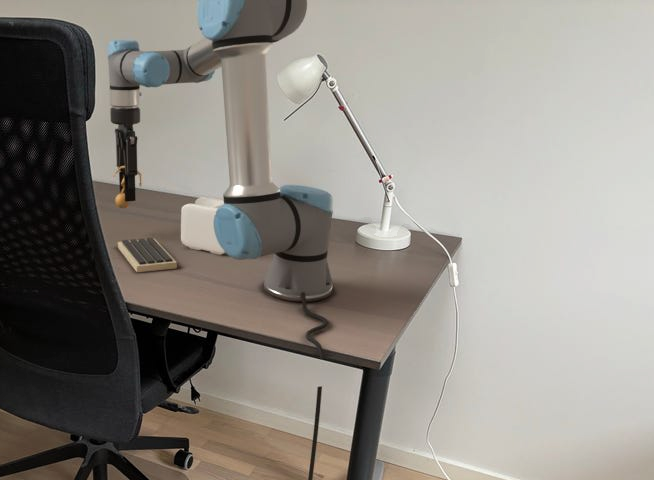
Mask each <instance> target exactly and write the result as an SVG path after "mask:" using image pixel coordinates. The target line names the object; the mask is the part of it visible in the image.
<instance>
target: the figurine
mask: <svg viewBox="0 0 654 480" xmlns="http://www.w3.org/2000/svg"><path fill="white" fill-rule="evenodd" d="M121 168H125V166H121V167H120V168H119V169H118V168H117V170H116V171H115V172H114V174H113V177H115V176H116V174H119V172H120V171H119V170H120V169H121ZM137 172H138V174H137V175H139V177H138V178H139V179H138V180H139V183H138V187H142V173H141V172H140V171H139V170H138V169H137ZM121 185H122V187H123V189H122V192H121V193H120V192H119V194H117V195H116V196H115V200H114V201H115V202H114V203H115V205H116V206H117V208H119V209H127V208H128V207H129V206H130V204H131V201H128V202H125V193H123V192H124V189H125V188H124V178H123V180H122V183H121Z"/></svg>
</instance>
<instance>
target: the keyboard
mask: <svg viewBox="0 0 654 480" xmlns="http://www.w3.org/2000/svg"><path fill="white" fill-rule="evenodd" d="M117 249H118V250H119V251H120V252H121V254H122V255H123V257H124V258H125V259H126V260H127V262H128V263H129V264H130V265H131V267H132V268H133V269H134V270H135V272H136V273H145V272H154V271H163V270H174V269H178V268H177V267H178V262H177V261H176V260H175V259H174V258H173V256H172V255H171V254H170V253H169V252H168V251H167V250H166V249H165V248H164V247H163V246H162V245H161V243H159V242H158V241H157V240H156V238H153V237H146V238H138V239H136V238H133V239H129V240H128V239H122V240H121V241H117Z"/></svg>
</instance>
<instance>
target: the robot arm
mask: <svg viewBox="0 0 654 480" xmlns="http://www.w3.org/2000/svg"><path fill="white" fill-rule="evenodd" d="M196 10H197V11H196V12H197V13H196V14H197V15H196V18H197V25H198V28H199V30H200V31H201V35H203V38H201V39H199V40H198V41H197V42H195V43H194V44H192V45H190V46H189V47H187V48H185V49H175V50H174V49H173V50H171V49H170V50H152V51H151V50H150V51H148V50H147V51H145V50H140V45H139V42H138V41H137V40H136V39H113V40H110V42H109V43H108V55H107V60H108V62H107V63H108V83H109V90H108V91H109V92H108V93H109V105H110V106H111V108H110V109H109V110H110V111H109V113H110V123H112V124H113V125H117V128H114V134H115V151H116V153H115V154H116V155H115V156H116V164H115V165H116V168H117V170H118V169H119V168H120V167H121V166H125V168H121V169H120V170H119V172H118V181H119V182H118V184H119V185H118V186H119V194H120V193H121V192H122V189H123V187H122V185H121V183H122V180H123V178H124V188H125V189H124V192H123V193H125V202H128V201H130V202H136V199H137V198H136V176H138V175H139V174H138V172H137V170H138V136H137V135H136V131H135V130H134V125H137V124H139V123H140V122H141V108H140V107H139V106H140V104H141V98H140V97H142V96H143V95H142V92H141V90H140V88H141V87H140V86H142V87H145V88H159V87H162V85H164V86H165V85H173V84H174V85H175V84H176V85H177V84H192V83H194V84H198V83H203V82H207V81H209V80H211V79H212V78H213V76H214V74H215V72H216V70H218V69H220V68H221V77H222V78H221V79H222V92H223V105H224V106H223V107H224V118H225V121H224V122H225V131H226V149H227V162H228V176H229V177H228V179H229V186H228V187H227V189H226V190H225V191H224V192H223V194H222V198H223V200H224V205H222V206H221V207H219V208H218V209H217V211H216V215H215V216H214V231H215V235H216V238H217V240H218V243H219V245H220V246H221V248H223V250H224V252H225V253H224V254H226V255H227V256H228V257H230V258H232V259H234V260H237V261H243V260H244V261H245V260H250V259H251V260H256V259H258V258H260V257H264V256H269V255H273V257H272V259H271V262H270V265H269V267H268V269H267V272H266V274H265V276H264V281H263V290H264V291H265V292H266V293H267V294H268V295H270V296H272V297H274V298H277V299H279V300H283V301H287V302H296V303H302V310H303V312H304V313H305V314H306V315H307V316H309V317H312V318H313V319H315V320H316V319H317V320H319V321H321V322H323V323H322V324H320V325H318V326H315V327H312V328H310V329H309V330H307V331H306V334H305V338H306V340H307V341H308V342H310V343H312V344H313V345H314V346H315V347H316V349H317V352H318V355H319V359H321V360H324V359H325V353H324V349H323V347H322V344H321V343H320V342H319V341H318V340H317V339H315V338H313V337H311V335H312V334H313V333H316V332H319V331H321V330H323V329H325V328H327V327H328V324H329V322H328V319H327V318H326V317H324V316H323V315H319V314H317V313H314V312H312V311H310V310H309V309H308V305H307V303H311V302H317V301H321V300H324V299H327V298H329V297H330V296H331V295H332V293H333V279H332V276H331V271H330V266H329V262H328V261H329V260H328V253H329V245H330V244H329V243H330V237H331V236H330V235H331V227H332V220H333V214H334V211H333V205H334V204H333V203H334V198H333V196H332V194H331V193H329V192H328V191H326V190H324V189H321V188H317V187H313V186H308V185H307V186H306V185H300V184H299V185H298V184H283V185H280V187H278V185H276V184H275V183H274V182H273V172H272V171H273V170H272V154H271V153H272V152H271V135H270V118H269V117H270V116H269V98H268V97H269V96H268V77H267V59H266V56H267V53H269V51H270V50H271V48H272V47H273V46H274V43H277V42H280V41H281V40H283V39H285V38H286V37H288V36H290V35H292V34H293V33H295V32H296V31H297V30H298V29H299V28H300V26H301V25H302V23H303V22H304V20H305V18H306V14H307V10H308V0H198V2H197V9H196ZM322 393H323V386H322V385H321V386H317V391H316V401H315V402H316V403H315V413H314V414H315V415H314V423H313V424H314V425H313V433H312V434H313V435H312V436H313V437H312V444H311V452H310V460H309V461H310V463H309V471H308V478H307V480H313V479H314V470H315V462H316V455H317V454H316V453H317V445H318V444H317V443H318V436H319V435H318V434H319V427H320V426H319V425H320V415H321V405H322V404H321V403H322Z"/></svg>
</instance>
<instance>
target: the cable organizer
mask: <svg viewBox="0 0 654 480" xmlns="http://www.w3.org/2000/svg"><path fill="white" fill-rule="evenodd" d="M222 205H224V199H220V198H214V197H208V196H201V197H198V198H197V199H196V200H195V201H194V203H187V204H184V205H183V206H182V207H181V211H180V215H181V216H180V241H181V243H182V244H183V245H184V246H186V247H187V248H189V249H191V250H196V251H202V250H203V251H206V252H209V253H210V254H214V255H219V256H222V255H223V254H226V253H225V252H224V250H223V248H221V246H220V245H219V243H218V240H217V238H216V235H215V231H214V216H215V215H216V211H217V209H218V208H219V207H221V206H222Z"/></svg>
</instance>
